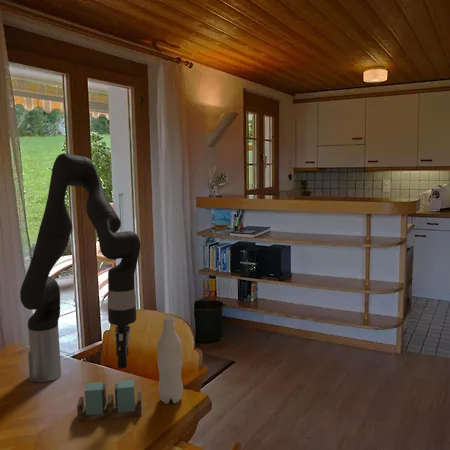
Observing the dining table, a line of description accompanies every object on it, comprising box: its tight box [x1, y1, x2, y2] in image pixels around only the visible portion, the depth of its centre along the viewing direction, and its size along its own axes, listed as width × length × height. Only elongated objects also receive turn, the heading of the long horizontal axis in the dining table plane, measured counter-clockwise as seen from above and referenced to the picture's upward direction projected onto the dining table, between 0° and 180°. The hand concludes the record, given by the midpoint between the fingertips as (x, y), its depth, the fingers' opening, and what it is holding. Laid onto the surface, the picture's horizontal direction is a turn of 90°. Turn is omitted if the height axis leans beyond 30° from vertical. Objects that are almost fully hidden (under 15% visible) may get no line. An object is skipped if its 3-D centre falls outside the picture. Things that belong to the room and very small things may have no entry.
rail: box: [76, 391, 143, 422], centre depth 132 cm, size 17×5×4 cm, turn 99°
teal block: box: [114, 379, 136, 412], centre depth 132 cm, size 5×4×7 cm
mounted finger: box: [84, 381, 107, 415], centre depth 131 cm, size 5×4×7 cm
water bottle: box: [156, 316, 184, 405], centre depth 138 cm, size 7×7×25 cm
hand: (123, 361), depth 131 cm, fingers open, 8 cm apart
